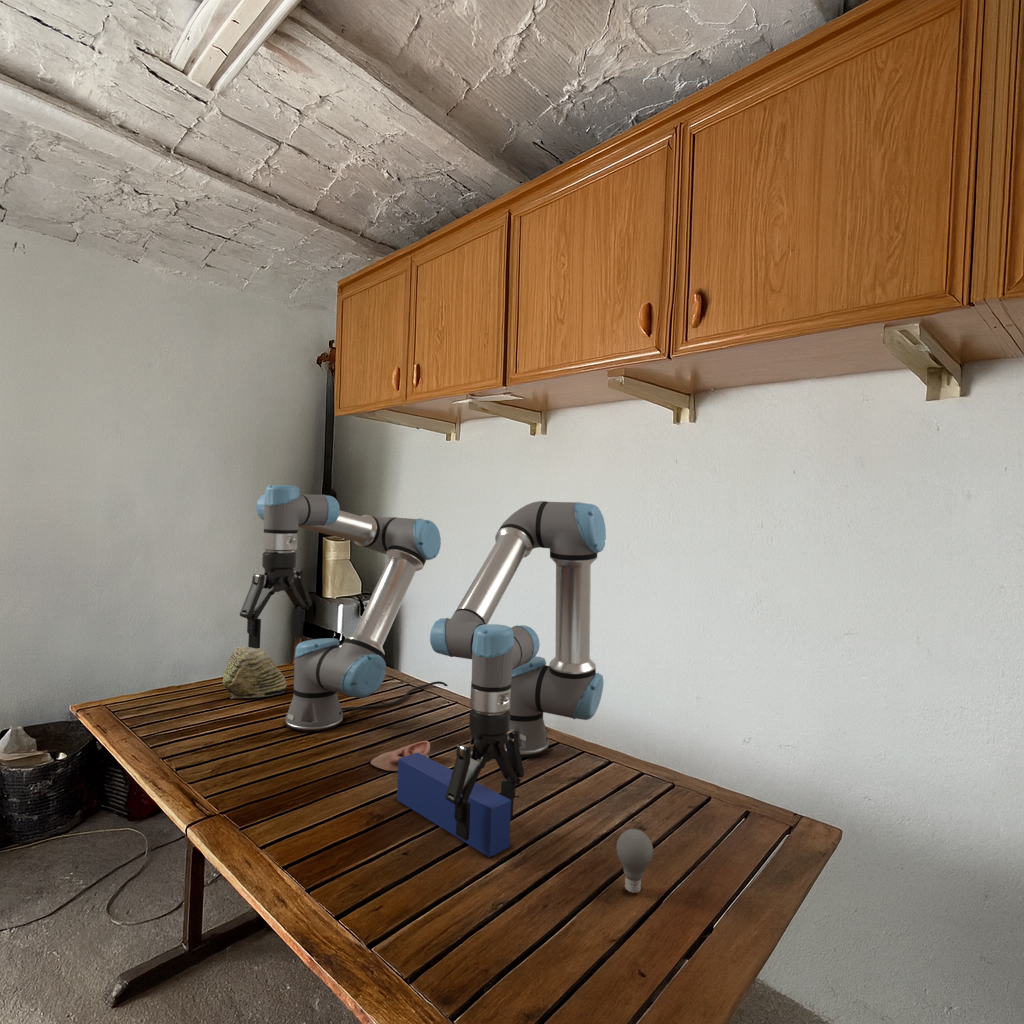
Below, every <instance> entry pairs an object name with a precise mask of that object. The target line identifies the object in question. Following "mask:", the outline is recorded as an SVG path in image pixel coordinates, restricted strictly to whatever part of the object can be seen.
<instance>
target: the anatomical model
mask: <svg viewBox="0 0 1024 1024" xmlns="http://www.w3.org/2000/svg"><path fill="white" fill-rule="evenodd" d="M430 751H431V743H430V742H429V741H428V740H423V741H417V742H415V743H412V744H408V745H405V746H403V747H399V748H398V749H394V750H391V751H387V752H384V753H381V754H380V755H377V756H376V757H374V758H373V759H371V761H370V764H371V765H372V766H373V767H375V768H378V769H380V770H383V771H387V772H398V759H399V758H402V757H405V756H408V755H412V754H415V753H420V754H422V755H424V756H426V757H428V758H429V759H430V757H429V755H428V754H429V753H430Z"/></svg>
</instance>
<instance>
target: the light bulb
mask: <svg viewBox="0 0 1024 1024" xmlns="http://www.w3.org/2000/svg"><path fill="white" fill-rule="evenodd" d="M615 849H616V854H617V857H618V859H619V861H620V863H621V865H622V867H623V873H624V874H623V875H624V876H625V878H624V888H625V890H627V891H628V892H630V893H634V894H635V893H639V892H640V891H641V889H642V887H641V886H642V879H643V877H644V875H645V871H646V868H647V867H648V866H649V864H650V863H651V861H652V859H653V855H654V847H653V843H652V841H651V838H649V836H648V835H647V834H646V833H645V832H643V831H642V830H641V829H636V828H629V829H627V830H625V831H623V832H622V833H621V834H620V835H619V837H618V839H617V841H616V847H615Z"/></svg>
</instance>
